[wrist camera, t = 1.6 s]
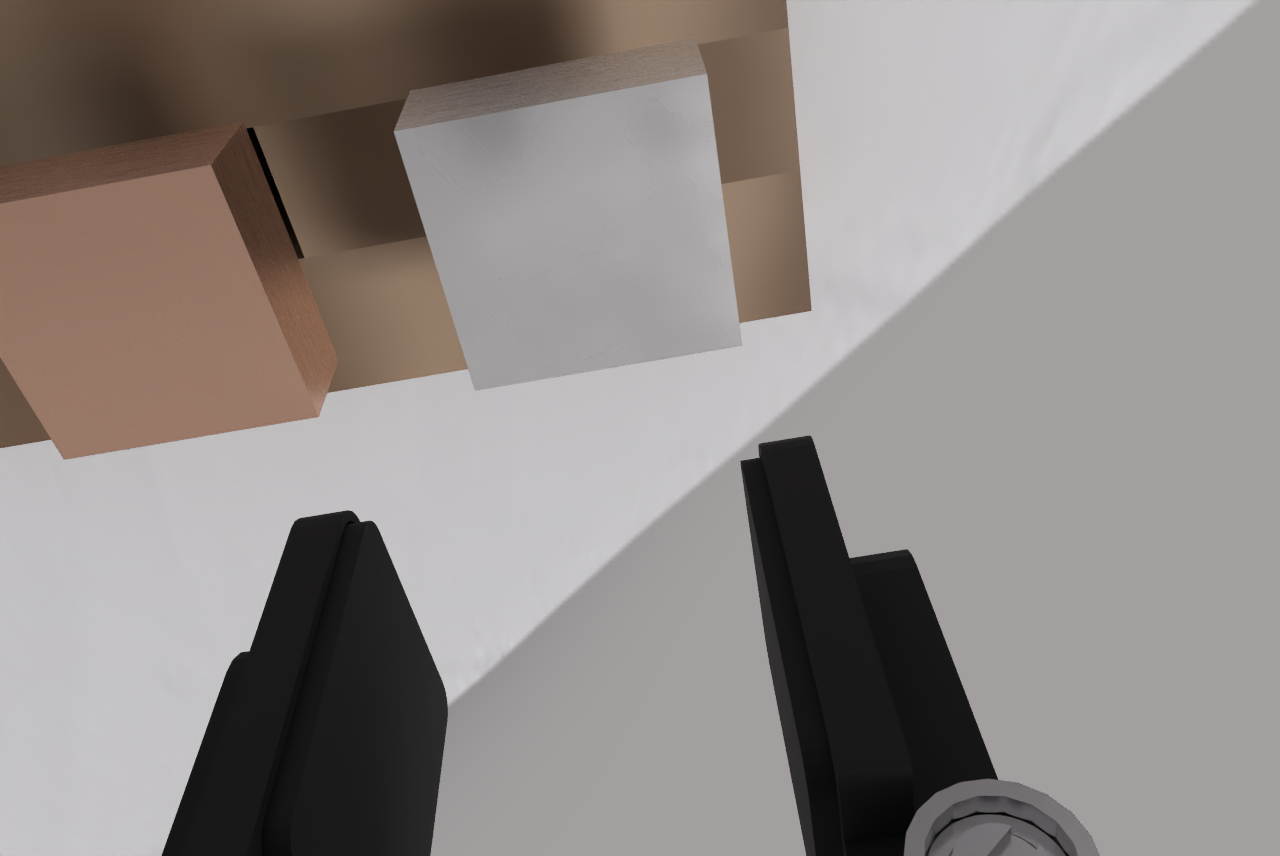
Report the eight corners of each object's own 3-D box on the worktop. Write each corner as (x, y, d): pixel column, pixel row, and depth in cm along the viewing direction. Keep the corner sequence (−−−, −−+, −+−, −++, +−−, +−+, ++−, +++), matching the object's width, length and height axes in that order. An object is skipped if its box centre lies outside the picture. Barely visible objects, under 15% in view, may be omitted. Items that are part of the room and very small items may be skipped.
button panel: (743, -194, 22) (772, -173, 19) (784, 236, 28) (811, 310, 25) (-365, 25, 23) (-516, 81, 20) (-106, 391, 29) (-192, 480, 26)
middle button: (293, 54, 22) (210, 165, 17) (370, 269, 24) (318, 416, 20) (61, 98, 22) (-87, 219, 17) (165, 305, 25) (64, 459, 20)
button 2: (677, -18, 21) (707, 74, 16) (709, 209, 24) (742, 345, 19) (435, 27, 21) (393, 131, 17) (495, 247, 24) (475, 390, 19)
